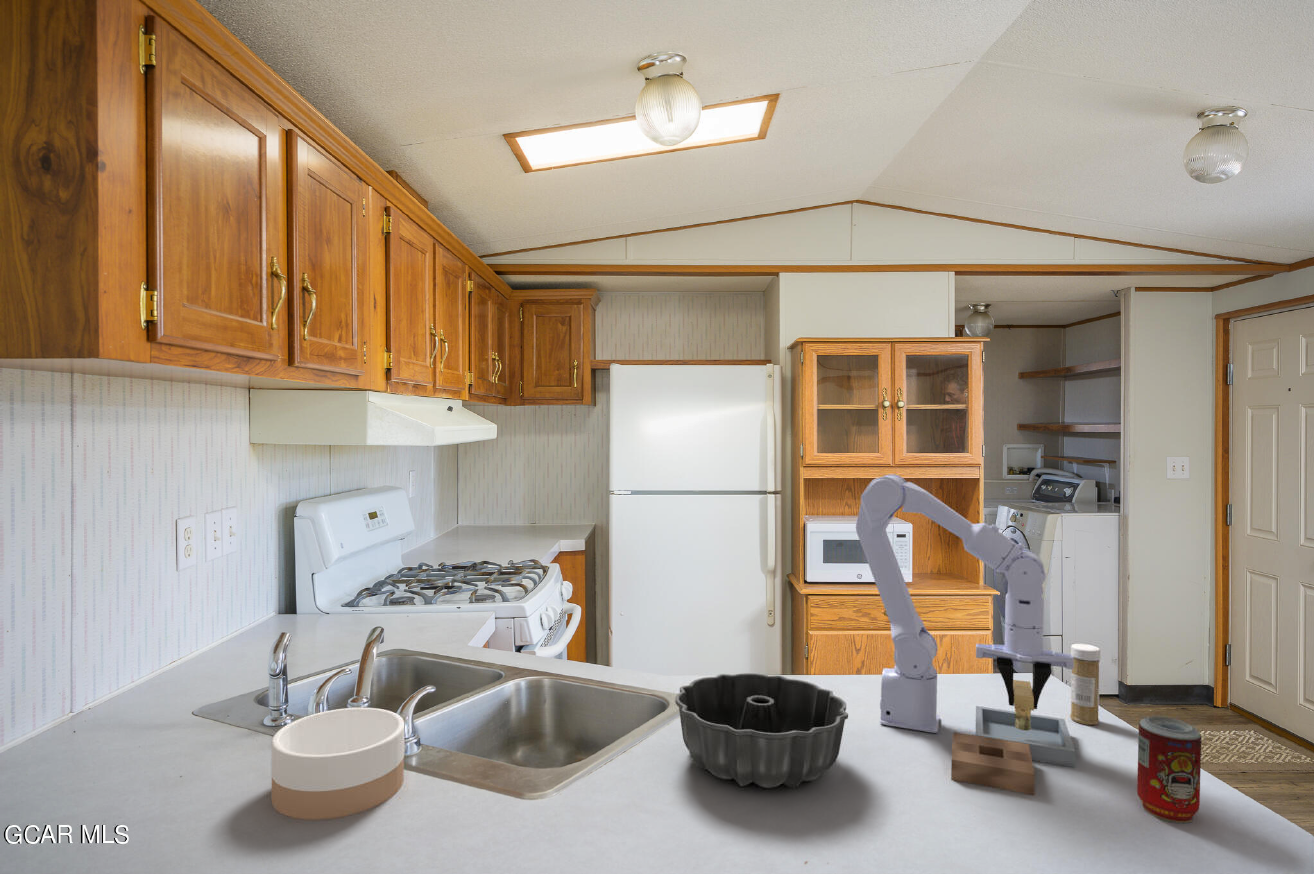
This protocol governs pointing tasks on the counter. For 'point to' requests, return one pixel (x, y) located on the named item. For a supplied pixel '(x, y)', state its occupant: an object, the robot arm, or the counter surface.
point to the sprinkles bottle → (1085, 684)
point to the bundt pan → (761, 728)
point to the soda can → (1169, 768)
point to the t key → (1023, 704)
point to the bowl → (337, 763)
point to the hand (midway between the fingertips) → (1022, 705)
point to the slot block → (992, 763)
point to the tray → (1029, 734)
